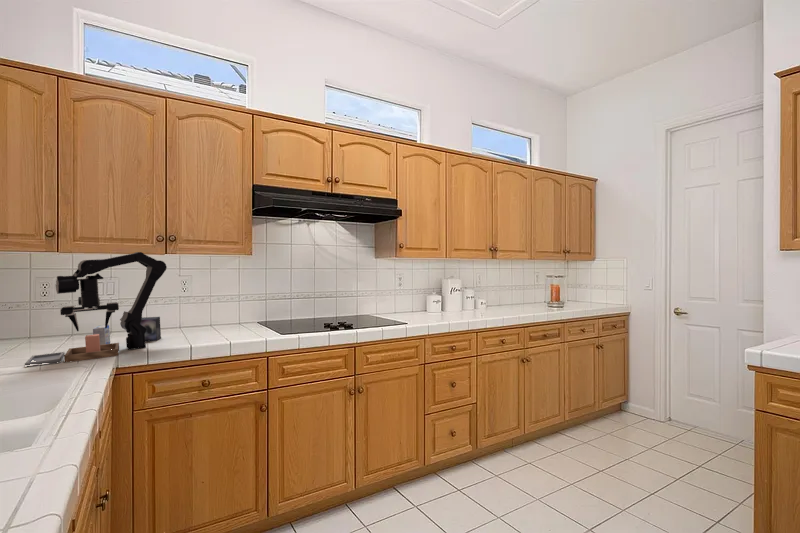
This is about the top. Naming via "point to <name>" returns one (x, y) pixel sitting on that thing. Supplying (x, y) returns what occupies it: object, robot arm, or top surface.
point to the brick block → (92, 343)
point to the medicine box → (103, 334)
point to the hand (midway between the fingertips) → (92, 329)
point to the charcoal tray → (46, 358)
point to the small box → (151, 328)
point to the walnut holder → (81, 354)
